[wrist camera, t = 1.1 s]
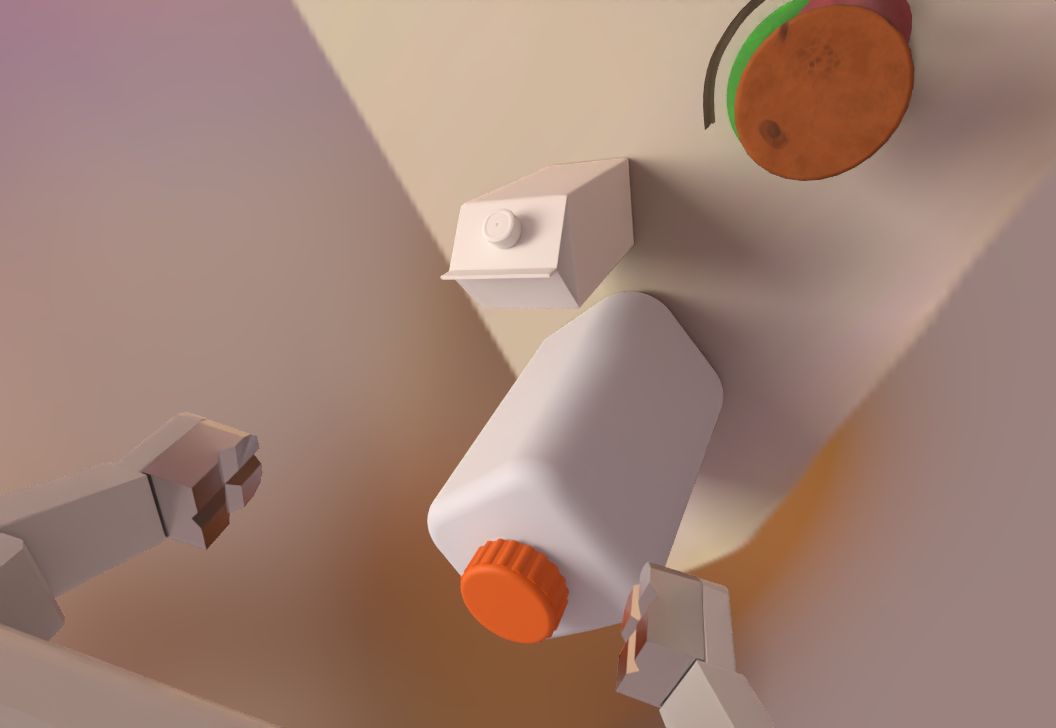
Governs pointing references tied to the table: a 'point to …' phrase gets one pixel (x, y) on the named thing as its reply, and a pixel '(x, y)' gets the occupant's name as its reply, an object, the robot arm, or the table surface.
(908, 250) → the table surface
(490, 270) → the milk carton
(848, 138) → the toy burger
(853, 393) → the table surface
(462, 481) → the plastic bottle
